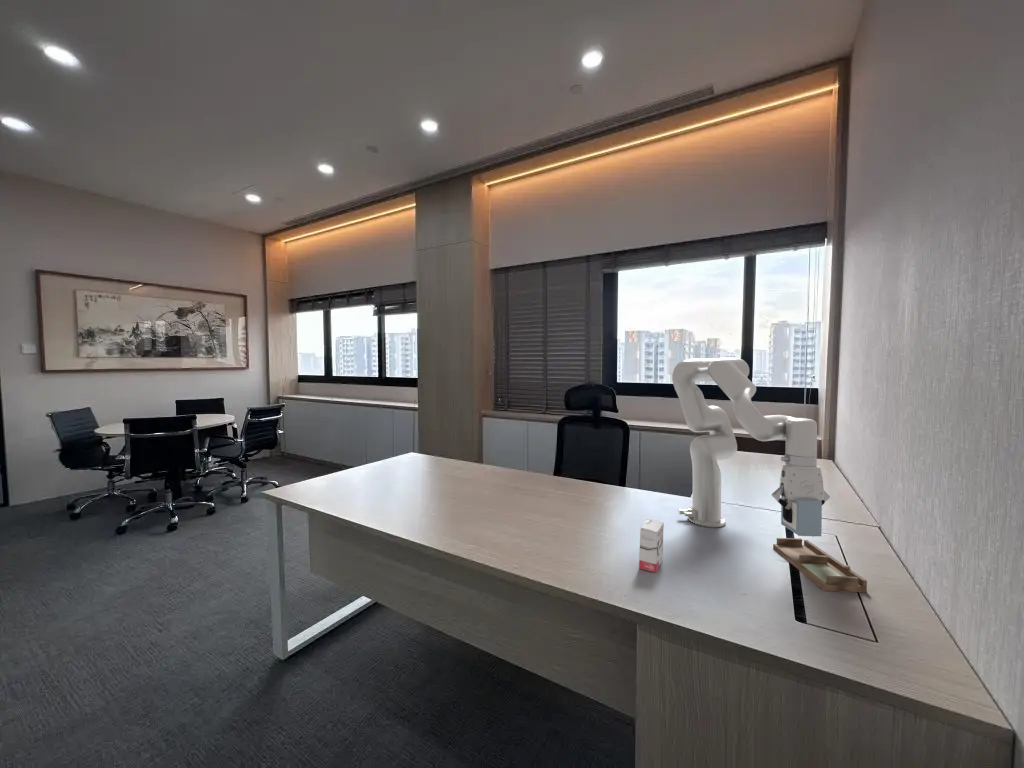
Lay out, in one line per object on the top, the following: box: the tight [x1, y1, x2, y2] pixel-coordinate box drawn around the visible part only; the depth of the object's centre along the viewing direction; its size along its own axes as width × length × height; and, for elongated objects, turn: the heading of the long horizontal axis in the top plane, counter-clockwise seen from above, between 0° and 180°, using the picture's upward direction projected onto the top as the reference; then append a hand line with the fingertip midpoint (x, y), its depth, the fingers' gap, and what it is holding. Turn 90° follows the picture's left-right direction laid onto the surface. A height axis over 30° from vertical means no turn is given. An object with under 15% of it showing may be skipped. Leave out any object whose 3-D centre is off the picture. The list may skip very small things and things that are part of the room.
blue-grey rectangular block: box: [780, 495, 823, 537], centre depth 121 cm, size 6×9×10 cm
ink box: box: [638, 519, 665, 574], centre depth 119 cm, size 9×5×12 cm, turn 148°
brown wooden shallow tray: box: [772, 537, 868, 593], centre depth 116 cm, size 10×24×4 cm, turn 175°
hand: (800, 520), depth 121 cm, fingers closed on blue-grey rectangular block, 6 cm apart
